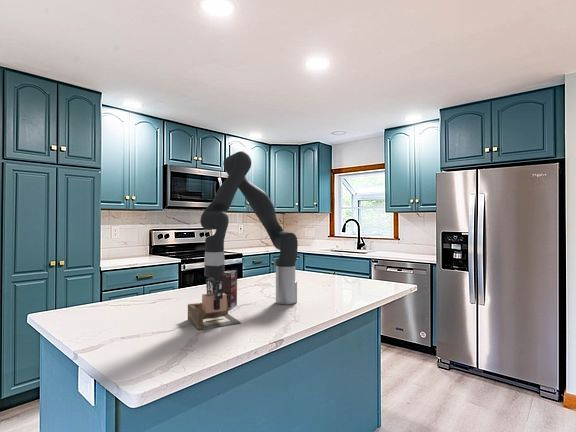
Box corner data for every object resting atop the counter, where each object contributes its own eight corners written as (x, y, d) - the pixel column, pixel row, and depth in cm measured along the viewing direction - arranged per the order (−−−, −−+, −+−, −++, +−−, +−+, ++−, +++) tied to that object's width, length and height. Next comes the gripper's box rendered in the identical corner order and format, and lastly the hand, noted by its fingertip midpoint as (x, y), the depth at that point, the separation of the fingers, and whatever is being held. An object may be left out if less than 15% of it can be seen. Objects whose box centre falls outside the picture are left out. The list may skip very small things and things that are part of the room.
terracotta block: (202, 310, 137) (202, 294, 137) (222, 307, 141) (222, 292, 141) (206, 313, 132) (206, 296, 132) (226, 310, 136) (226, 294, 136)
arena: (226, 314, 148) (226, 299, 148) (240, 323, 135) (240, 307, 135) (187, 319, 140) (187, 304, 140) (198, 330, 127) (198, 313, 127)
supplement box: (230, 310, 154) (230, 273, 154) (220, 309, 155) (220, 272, 155) (237, 305, 163) (237, 270, 163) (227, 304, 164) (227, 269, 164)
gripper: (199, 261, 141) (199, 305, 141) (210, 266, 128) (210, 313, 128) (217, 260, 145) (217, 302, 145) (230, 265, 132) (230, 311, 132)
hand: (214, 307), depth 137 cm, fingers closed on terracotta block, 5 cm apart
